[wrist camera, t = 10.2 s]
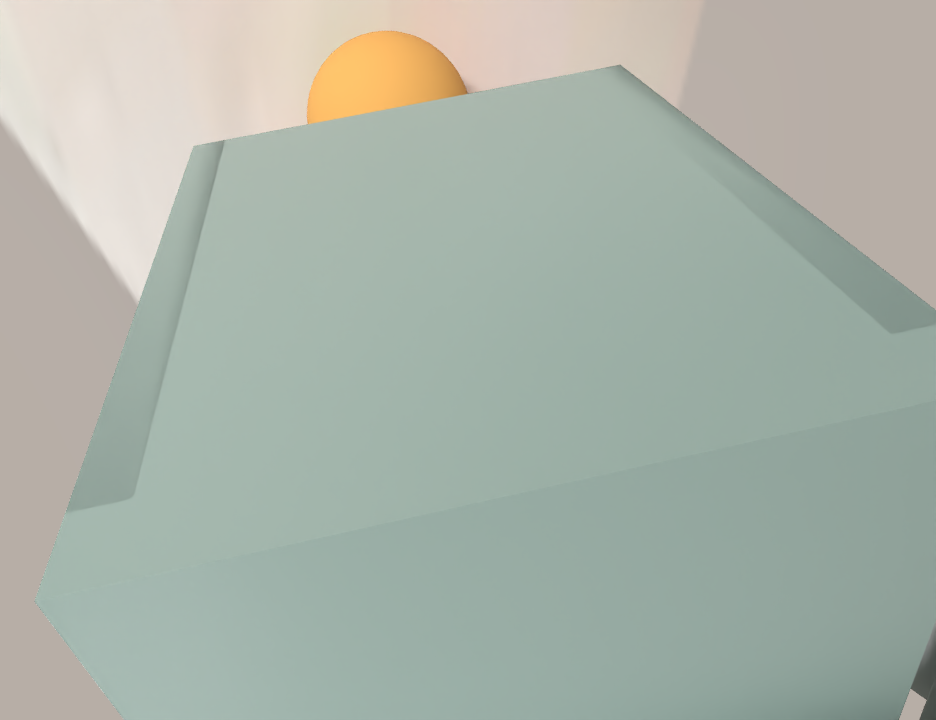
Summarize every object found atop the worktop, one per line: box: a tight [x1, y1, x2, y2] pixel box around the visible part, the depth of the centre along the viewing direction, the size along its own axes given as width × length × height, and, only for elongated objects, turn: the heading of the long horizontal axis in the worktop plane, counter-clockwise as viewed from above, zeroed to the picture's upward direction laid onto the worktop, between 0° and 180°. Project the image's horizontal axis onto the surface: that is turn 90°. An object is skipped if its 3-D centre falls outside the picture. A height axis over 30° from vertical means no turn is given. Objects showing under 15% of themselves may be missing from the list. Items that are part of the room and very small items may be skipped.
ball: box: [307, 31, 467, 124], centre depth 24 cm, size 5×5×5 cm
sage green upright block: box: [35, 65, 936, 720], centre depth 12 cm, size 11×7×9 cm, turn 8°
